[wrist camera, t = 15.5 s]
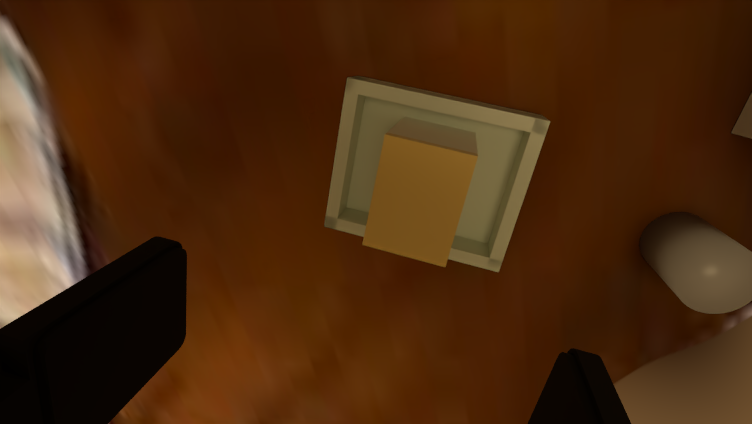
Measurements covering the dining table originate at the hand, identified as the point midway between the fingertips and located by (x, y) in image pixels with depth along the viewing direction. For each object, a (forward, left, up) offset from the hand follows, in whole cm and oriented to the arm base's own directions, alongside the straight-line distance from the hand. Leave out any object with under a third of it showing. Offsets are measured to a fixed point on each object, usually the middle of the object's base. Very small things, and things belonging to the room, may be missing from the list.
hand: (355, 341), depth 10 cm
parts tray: (0, 0, -19) cm, 19 cm away
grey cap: (+16, -1, -19) cm, 25 cm away
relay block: (0, 0, -19) cm, 18 cm away
